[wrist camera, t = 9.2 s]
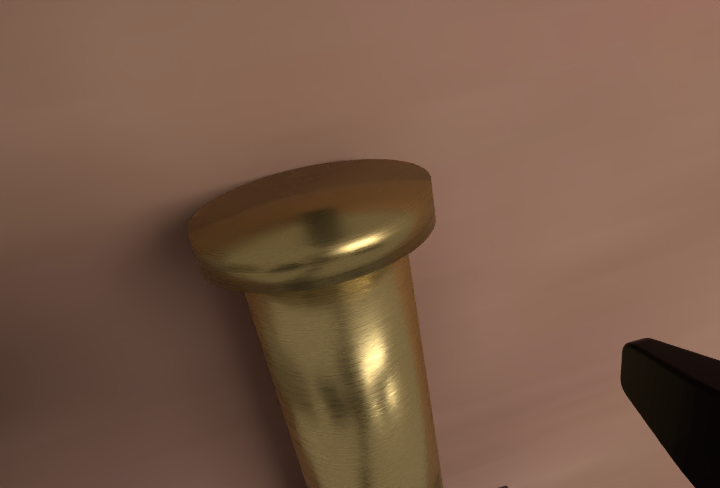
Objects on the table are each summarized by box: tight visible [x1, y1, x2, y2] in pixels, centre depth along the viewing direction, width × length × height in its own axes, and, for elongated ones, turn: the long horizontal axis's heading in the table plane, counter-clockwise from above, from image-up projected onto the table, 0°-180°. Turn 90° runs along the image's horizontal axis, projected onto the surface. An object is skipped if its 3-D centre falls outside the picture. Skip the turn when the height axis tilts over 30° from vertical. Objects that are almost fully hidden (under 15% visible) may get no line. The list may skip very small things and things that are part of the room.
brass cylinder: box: [187, 159, 443, 488], centre depth 15 cm, size 16×6×6 cm, turn 10°
